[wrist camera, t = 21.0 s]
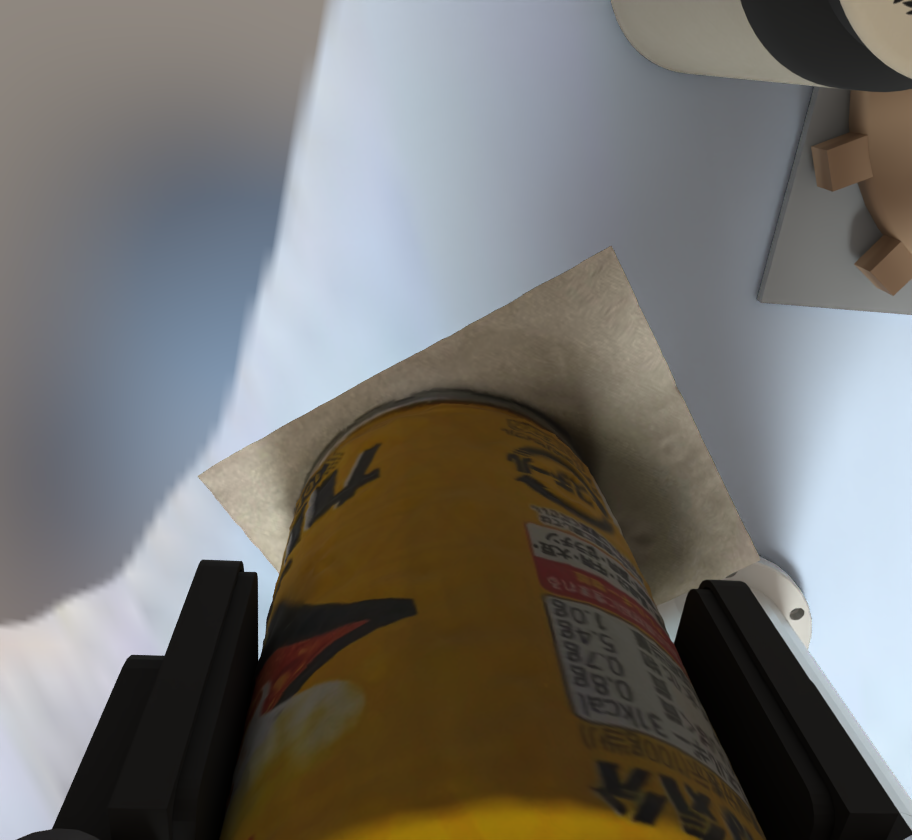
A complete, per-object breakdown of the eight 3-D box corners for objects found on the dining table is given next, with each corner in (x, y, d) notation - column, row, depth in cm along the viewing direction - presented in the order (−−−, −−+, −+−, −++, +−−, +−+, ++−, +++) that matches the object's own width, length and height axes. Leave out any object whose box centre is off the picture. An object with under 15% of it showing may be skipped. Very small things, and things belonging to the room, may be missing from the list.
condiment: (199, 470, 15) (-346, 1608, 4) (609, 242, 14) (1466, 984, 3) (400, 719, 18) (406, 1782, 7) (754, 550, 16) (1458, 1517, 6)
